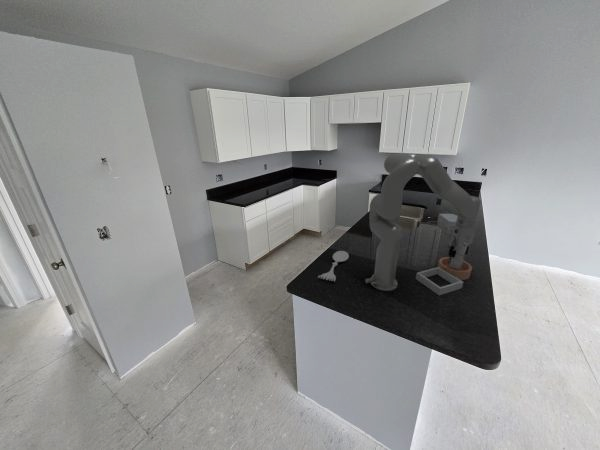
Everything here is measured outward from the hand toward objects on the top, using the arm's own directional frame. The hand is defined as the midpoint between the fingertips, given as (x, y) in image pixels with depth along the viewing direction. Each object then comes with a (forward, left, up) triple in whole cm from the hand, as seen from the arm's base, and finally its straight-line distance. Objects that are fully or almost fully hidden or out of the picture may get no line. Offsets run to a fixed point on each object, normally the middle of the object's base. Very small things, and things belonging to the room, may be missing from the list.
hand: (457, 254), depth 127 cm
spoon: (-54, +27, -11) cm, 62 cm away
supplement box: (+46, +40, -11) cm, 63 cm away
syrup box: (0, 0, -7) cm, 7 cm away
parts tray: (-16, -4, -10) cm, 19 cm away
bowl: (0, 0, -10) cm, 10 cm away
